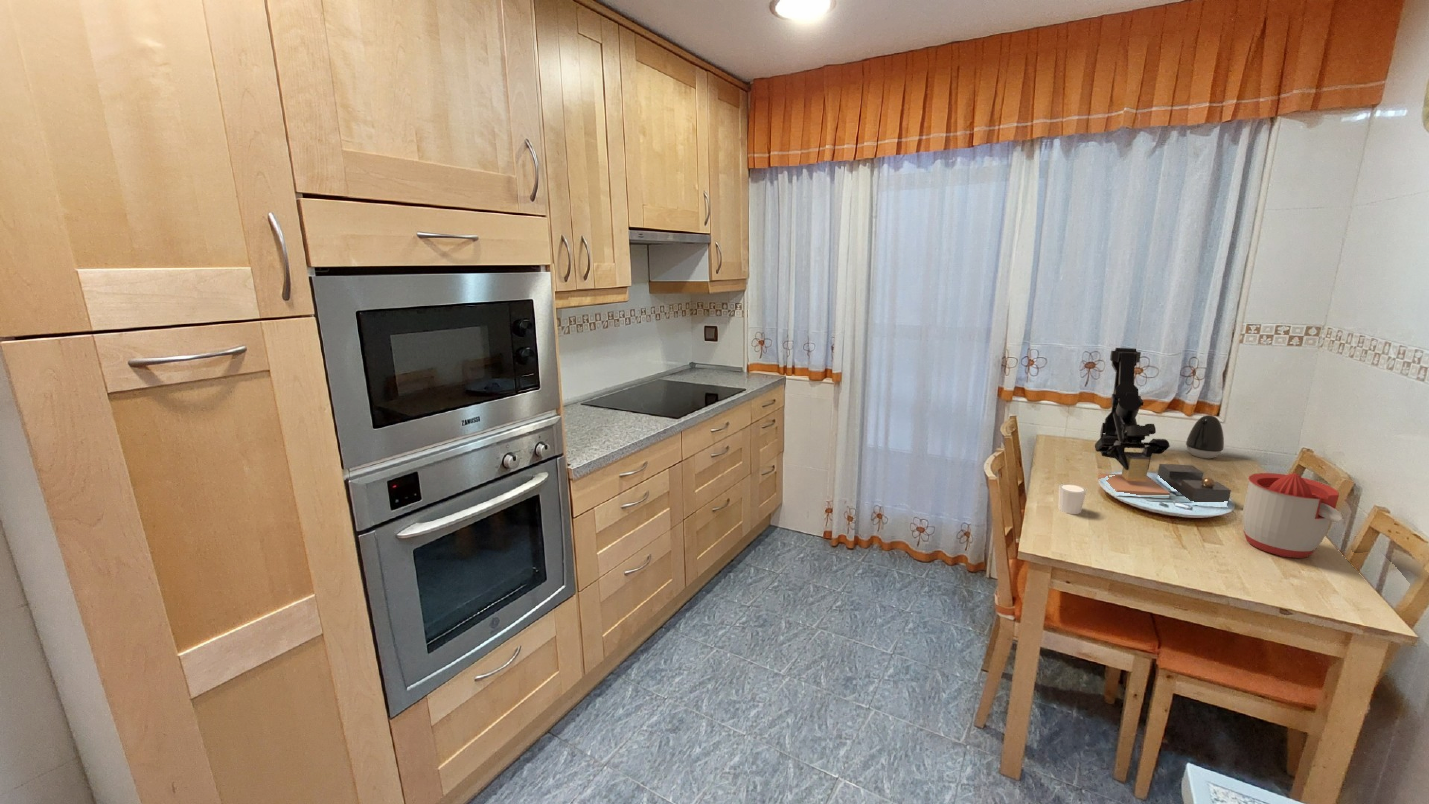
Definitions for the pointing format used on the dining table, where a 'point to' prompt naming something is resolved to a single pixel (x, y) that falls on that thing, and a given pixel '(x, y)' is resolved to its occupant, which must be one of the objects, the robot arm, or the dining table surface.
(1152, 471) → the dining table surface
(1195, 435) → the dark grey egg shape
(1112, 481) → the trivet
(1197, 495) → the body
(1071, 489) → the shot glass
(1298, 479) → the citrus juicer
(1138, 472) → the tan wooden block
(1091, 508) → the dining table surface
